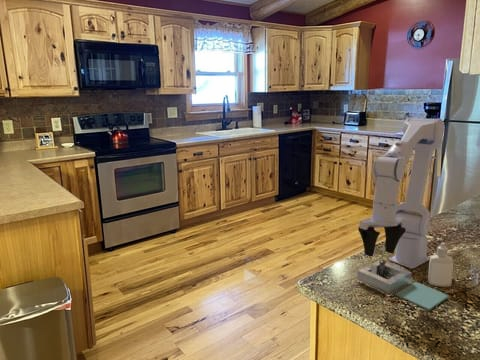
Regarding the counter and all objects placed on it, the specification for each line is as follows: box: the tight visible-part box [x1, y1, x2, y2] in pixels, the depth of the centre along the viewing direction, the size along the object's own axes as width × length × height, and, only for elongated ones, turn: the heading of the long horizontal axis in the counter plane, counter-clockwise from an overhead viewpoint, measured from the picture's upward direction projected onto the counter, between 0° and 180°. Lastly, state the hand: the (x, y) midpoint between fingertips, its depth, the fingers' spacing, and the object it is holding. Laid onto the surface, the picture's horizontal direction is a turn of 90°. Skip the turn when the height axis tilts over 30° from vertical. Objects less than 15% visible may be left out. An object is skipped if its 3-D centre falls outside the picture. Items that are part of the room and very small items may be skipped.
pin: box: [378, 259, 387, 278], centre depth 107 cm, size 2×2×5 cm
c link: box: [357, 259, 412, 296], centre depth 104 cm, size 10×10×4 cm
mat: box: [394, 281, 450, 312], centre depth 97 cm, size 10×9×1 cm
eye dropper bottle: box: [427, 242, 454, 288], centre depth 102 cm, size 4×6×12 cm
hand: (379, 253), depth 99 cm, fingers open, 7 cm apart
